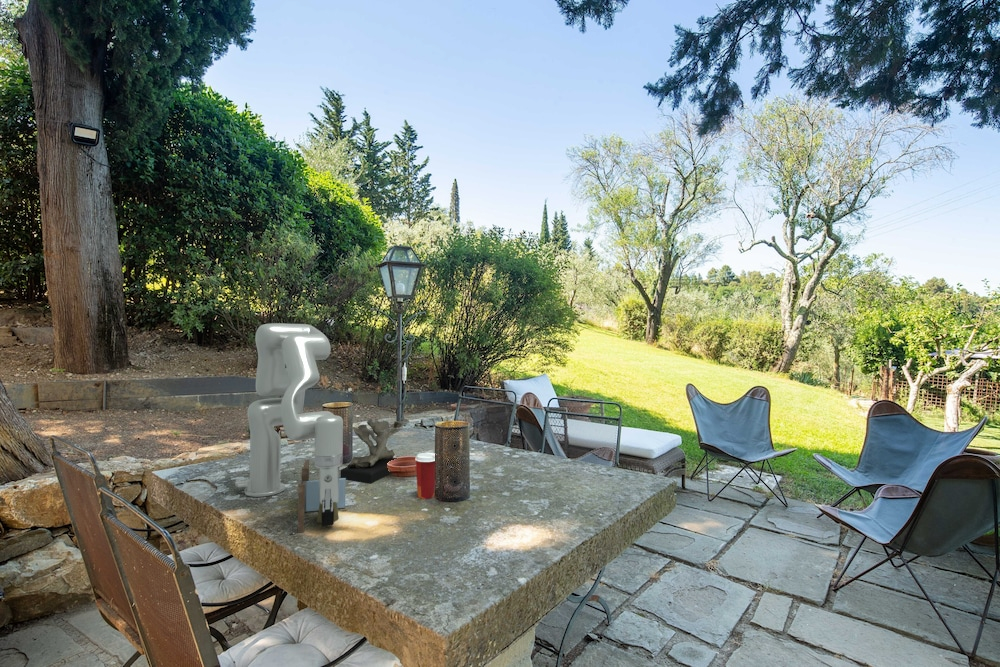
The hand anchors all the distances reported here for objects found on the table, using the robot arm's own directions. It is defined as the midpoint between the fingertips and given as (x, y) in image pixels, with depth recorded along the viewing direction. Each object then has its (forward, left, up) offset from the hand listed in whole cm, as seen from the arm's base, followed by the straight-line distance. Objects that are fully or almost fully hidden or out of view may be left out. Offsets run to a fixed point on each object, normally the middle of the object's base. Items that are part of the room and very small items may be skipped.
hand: (327, 524), depth 135 cm
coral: (+19, +48, -1) cm, 52 cm away
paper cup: (+31, +18, -1) cm, 36 cm away
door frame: (-7, +12, -1) cm, 14 cm away
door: (-1, +14, -1) cm, 14 cm away
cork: (0, +6, -1) cm, 7 cm away
